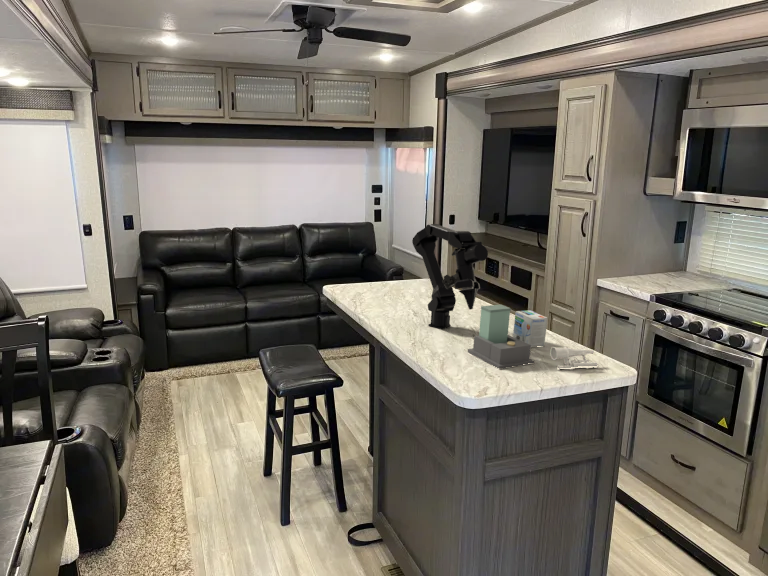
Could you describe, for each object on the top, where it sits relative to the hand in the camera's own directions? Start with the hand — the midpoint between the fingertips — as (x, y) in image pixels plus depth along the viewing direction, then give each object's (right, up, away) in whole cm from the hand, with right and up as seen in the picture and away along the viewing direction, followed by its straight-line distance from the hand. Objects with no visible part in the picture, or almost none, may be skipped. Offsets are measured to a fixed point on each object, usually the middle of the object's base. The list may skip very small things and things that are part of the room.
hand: (470, 309), depth 202 cm
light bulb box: (+21, -12, +3) cm, 25 cm away
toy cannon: (+30, -18, -20) cm, 40 cm away
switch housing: (+7, -15, -14) cm, 22 cm away
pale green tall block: (+6, -13, -10) cm, 18 cm away
